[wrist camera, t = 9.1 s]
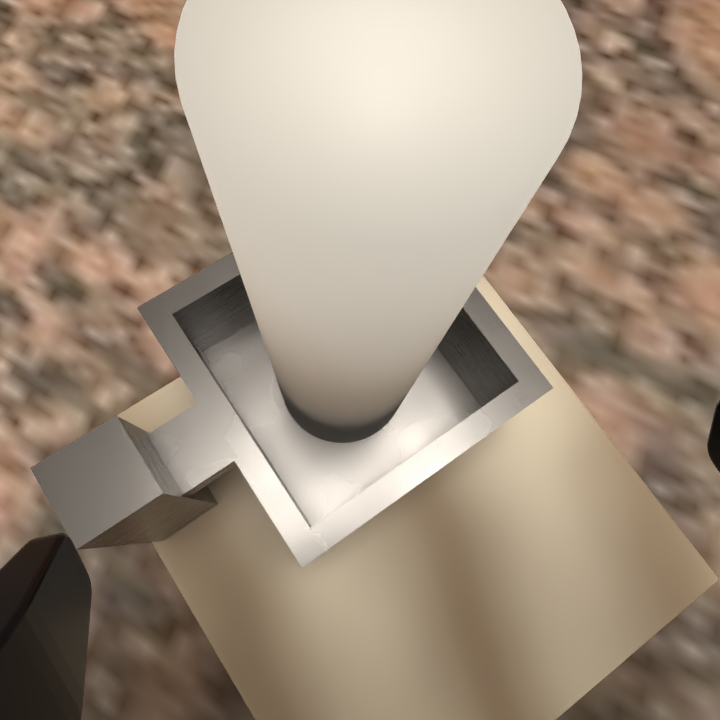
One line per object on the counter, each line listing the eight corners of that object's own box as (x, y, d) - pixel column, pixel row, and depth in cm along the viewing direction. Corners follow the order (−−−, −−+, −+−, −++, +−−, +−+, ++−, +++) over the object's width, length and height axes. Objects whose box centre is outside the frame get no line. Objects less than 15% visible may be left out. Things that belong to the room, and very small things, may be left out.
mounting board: (353, 865, 16) (355, 891, 15) (102, 439, 19) (87, 433, 18) (694, 575, 19) (718, 579, 18) (432, 234, 22) (438, 218, 20)
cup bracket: (212, 625, 17) (149, 682, 11) (87, 411, 18) (-34, 353, 12) (502, 418, 19) (588, 367, 13) (369, 239, 20) (390, 116, 14)
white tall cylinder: (358, 467, 17) (444, 322, 5) (256, 396, 18) (86, 87, 5) (426, 367, 18) (650, 21, 6) (327, 302, 18) (330, -161, 6)
